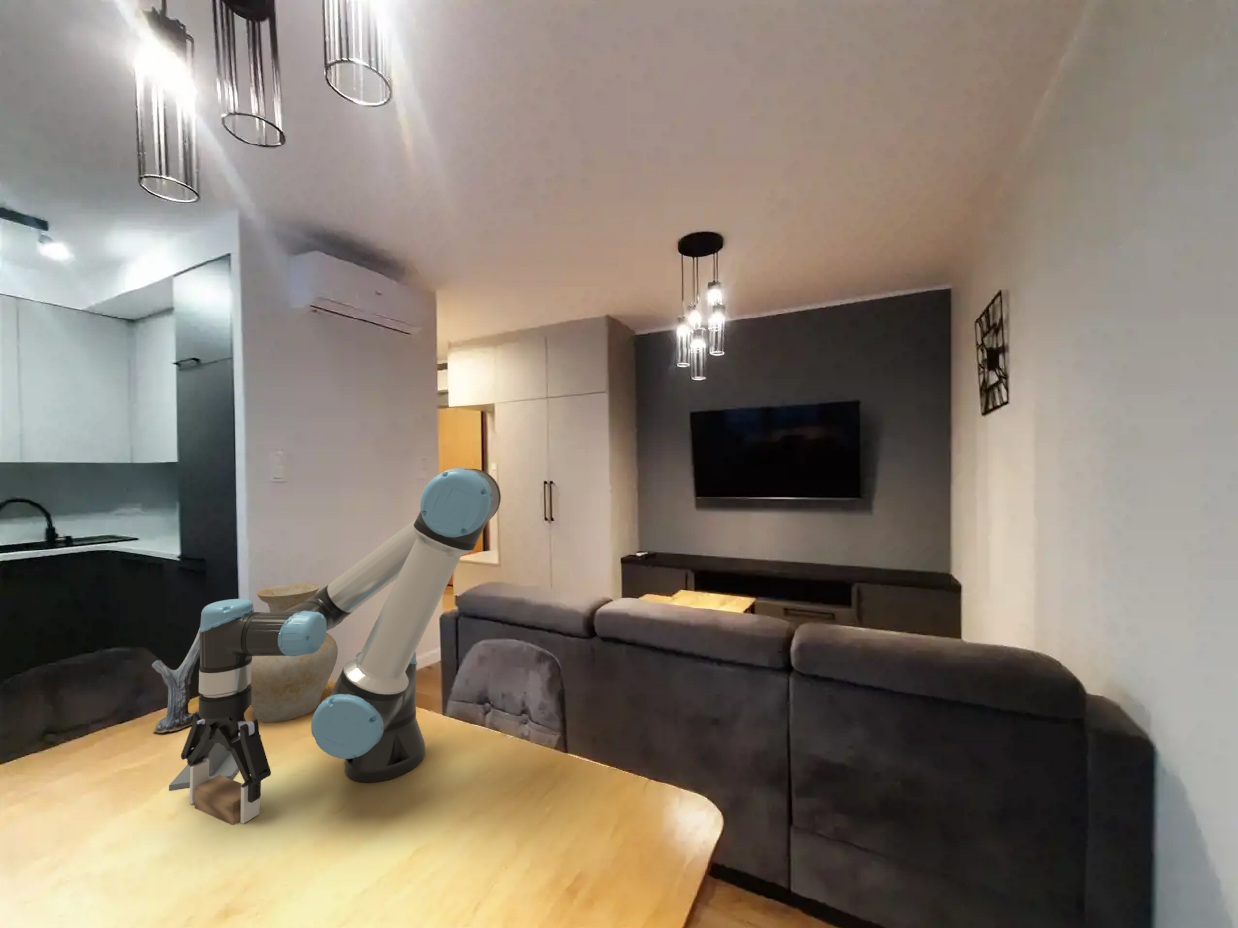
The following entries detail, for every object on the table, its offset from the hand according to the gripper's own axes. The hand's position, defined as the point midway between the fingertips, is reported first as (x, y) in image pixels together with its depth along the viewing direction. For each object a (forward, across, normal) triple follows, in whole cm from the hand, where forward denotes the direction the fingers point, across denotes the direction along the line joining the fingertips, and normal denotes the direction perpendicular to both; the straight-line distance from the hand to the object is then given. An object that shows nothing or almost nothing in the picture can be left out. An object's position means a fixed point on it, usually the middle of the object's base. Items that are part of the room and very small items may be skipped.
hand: (223, 808), depth 92 cm
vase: (0, +26, -31) cm, 41 cm away
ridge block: (0, +16, -9) cm, 19 cm away
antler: (+1, +42, -17) cm, 46 cm away
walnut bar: (0, 0, 0) cm, 0 cm away
